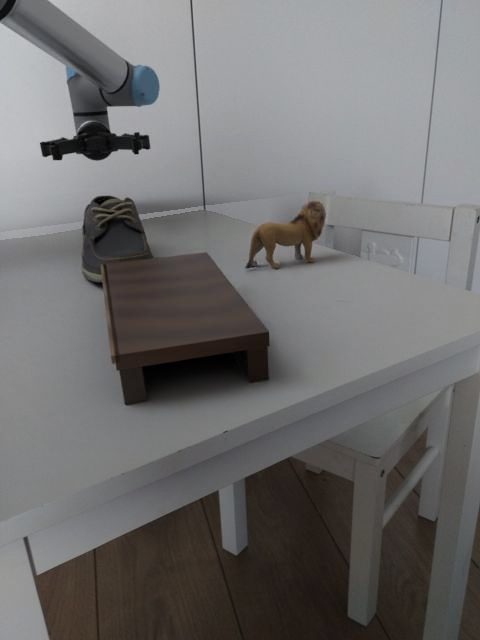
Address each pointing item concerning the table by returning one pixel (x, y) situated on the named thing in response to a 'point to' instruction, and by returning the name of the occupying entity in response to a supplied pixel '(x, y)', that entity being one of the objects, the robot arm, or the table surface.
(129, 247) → the boat shoe
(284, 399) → the table surface
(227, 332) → the shoe shelf
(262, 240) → the lion figurine
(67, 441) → the table surface
